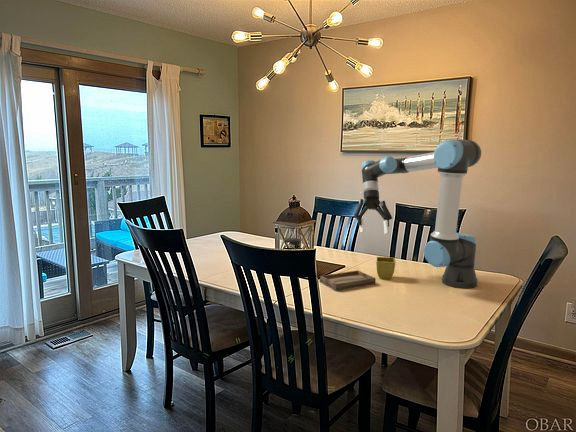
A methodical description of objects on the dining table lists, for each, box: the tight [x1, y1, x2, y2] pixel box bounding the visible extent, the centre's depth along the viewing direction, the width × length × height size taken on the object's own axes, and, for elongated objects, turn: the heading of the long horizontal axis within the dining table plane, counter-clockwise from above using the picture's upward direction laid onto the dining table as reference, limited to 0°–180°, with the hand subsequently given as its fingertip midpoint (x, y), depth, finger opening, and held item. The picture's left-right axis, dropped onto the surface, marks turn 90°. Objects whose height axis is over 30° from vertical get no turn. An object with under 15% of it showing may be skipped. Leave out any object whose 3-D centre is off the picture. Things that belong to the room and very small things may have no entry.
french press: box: [283, 228, 303, 250], centre depth 219 cm, size 12×9×23 cm
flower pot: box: [375, 256, 396, 280], centre depth 210 cm, size 9×9×9 cm
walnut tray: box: [319, 269, 376, 292], centre depth 202 cm, size 14×21×3 cm, turn 116°
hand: (374, 232), depth 214 cm, fingers open, 13 cm apart
